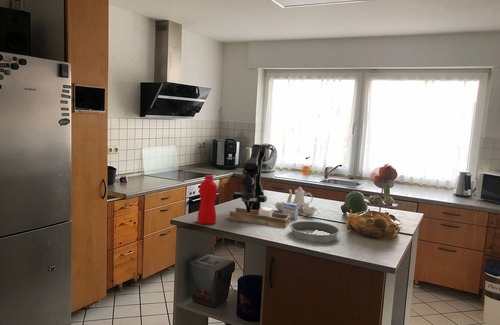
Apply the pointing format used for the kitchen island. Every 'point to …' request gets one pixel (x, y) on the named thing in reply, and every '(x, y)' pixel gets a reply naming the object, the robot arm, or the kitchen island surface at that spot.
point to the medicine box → (291, 210)
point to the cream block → (265, 212)
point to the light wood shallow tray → (260, 218)
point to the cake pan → (310, 228)
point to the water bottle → (207, 201)
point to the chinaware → (300, 201)
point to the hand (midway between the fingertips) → (248, 212)
